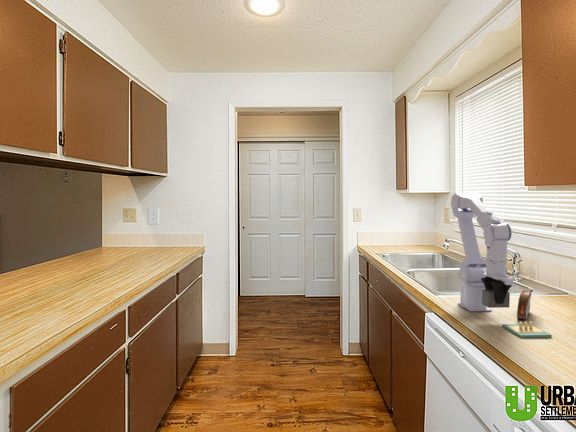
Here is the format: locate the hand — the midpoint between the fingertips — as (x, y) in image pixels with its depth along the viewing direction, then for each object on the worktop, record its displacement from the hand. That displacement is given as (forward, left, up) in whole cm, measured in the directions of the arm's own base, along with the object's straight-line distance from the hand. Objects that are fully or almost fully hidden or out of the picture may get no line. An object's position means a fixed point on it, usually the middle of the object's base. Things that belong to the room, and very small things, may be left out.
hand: (495, 301), depth 116 cm
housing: (0, 0, -2) cm, 2 cm away
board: (+9, +4, -7) cm, 12 cm away
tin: (-5, +13, -7) cm, 16 cm away
